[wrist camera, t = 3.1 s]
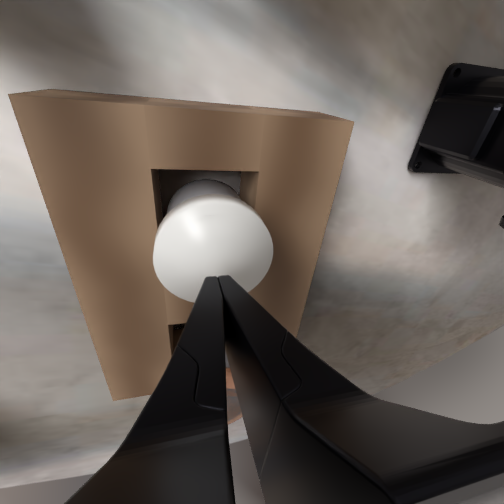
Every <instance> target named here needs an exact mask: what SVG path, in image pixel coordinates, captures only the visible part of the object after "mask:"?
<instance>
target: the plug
mask: <svg viewBox="0 0 504 504" xmlns="http://www.w3.org/2000/svg"><path fill="white" fill-rule="evenodd" d="M272 258H273V242H272V238H271V236H270V233H269V231H268V229H267V228H266V226H265V224H264V223H263V221H262V219H261V217H260V216H259V214H258V213H257V212H256V211H255V210H254V209H253V208H252V207H251V206H250V205H248V204H247V203H245V202H244V201H242V200H241V199H240V197H239V195H238V194H237V193H236V192H235V191H234V190H233V189H232V188H231V187H230V186H228V185H226V184H224V183H222V182H220V181H216V180H210V179H202V180H196V181H193V182H190V183H188V184H186V185H184V186H183V187H181V188H180V189H179V190H178V191H177V192H176V193H175V194H174V195H173V197H172V198H171V200H170V202H169V205H168V209H167V215H166V216H165V217H164V219H163V220H162V222H161V223H160V225H159V227H158V229H157V233H156V236H155V244H154V252H153V265H154V269H155V272H156V275H157V277H158V279H159V280H160V282H161V283H162V284H163V286H164V287H165V288H166V289H167V290H169V291H170V292H171V293H172V294H174V295H175V296H177V297H179V298H181V299H184V300H186V301H190V302H194V303H195V300H196V298H197V296H198V293H199V291H200V288H201V286H202V284H203V281H204V279H205V277H207V276H217V277H218V276H221V275H229V276H231V277H232V278H233V279H234V280H235V281H236V282H237V283H238V284H239V285H240V286H241V287H242V288H243V289H244V290H246V291H247V292H249V291H251V290H252V289H253V288H254V287H256V286H257V285H258V284H259V283H260V282H261V280H262V279H263V278H264V276H265V275H266V273H267V272H268V270H269V268H270V265H271V262H272Z"/></svg>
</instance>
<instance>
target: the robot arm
mask: <svg viewBox="0 0 504 504" xmlns="http://www.w3.org/2000/svg"><path fill="white" fill-rule="evenodd" d="M454 71H455V74H454ZM453 74H454V76H453ZM416 164H417V165H416ZM415 165H416V166H415ZM408 169H409V170H411V171H413V172H424V173H459V174H465V175H468V176H471V177H473V178H476V179H479V180H482V181H485V182H488V183H491V184H493V185H496V186H499V187H502V188H504V70H503V69H497V68H491V67H484V66H478V65H472V64H465V63H453V64H451V65H450V66H449V67H448V68H447V70H446V71H445V74H444V76H443V79H442V81H441V84H440V86H439V89H438V91H437V94H436V96H435V99H434V101H433V104H432V106H431V109H430V111H429V114H428V116H427V119H426V121H425V124H424V126H423V129H422V132H421V134H420V137H419V139H418V142H417V144H416V147H415V149H414V152H413V154H412V157H411V159H410V162H409V165H408ZM499 225H500V226H501V227H502V228H504V215H503V216H502V218H501V221H500V223H499ZM225 351H226V355H227V359H228V363H229V366H230V370H231V374H232V378H233V382H234V385H235V389H236V393H237V397H238V401H239V405H240V408H241V412H242V416H243V420H244V424H245V427H246V431H247V435H248V439H249V443H250V446H251V450H252V454H253V458H254V462H255V465H256V469H257V473H258V477H259V479H260V485H261V489H262V493H263V496H264V500H265V504H504V421H502V422H499V423H494V424H476V423H469V422H464V421H459V420H455V419H452V418H448V417H444V416H440V415H437V414H433V413H429V412H425V411H422V410H418V409H414V408H410V407H406V406H403V405H399V404H395V403H391V402H387V401H384V400H380V399H378V398H375V397H373V396H371V395H369V394H368V393H366V392H364V391H363V390H361V389H360V388H358V387H357V386H355V385H354V384H353V383H351V382H350V381H349V380H348V379H346V378H345V377H344V376H342V375H341V374H340V373H338V372H337V371H336V370H334V369H333V368H332V367H331V366H329V365H328V364H327V363H325V362H324V361H323V360H321V359H320V358H319V357H318V356H316V355H315V354H314V353H313V352H311V351H310V350H309V349H308V348H307V347H306V346H304V345H303V344H302V343H301V342H300V341H299V340H298V339H297V338H295V337H294V336H293V335H292V334H291V333H290V332H289V331H288V332H287V329H286V328H285V327H284V326H283V325H282V324H281V323H279V322H278V321H277V320H276V319H275V318H274V317H273V316H272V315H271V314H270V313H269V312H268V311H267V310H266V309H265V308H264V307H262V306H261V305H260V304H259V303H258V302H257V301H256V300H255V299H254V298H253V297H252V296H251V295H250V294H249V293H248V292H247V291H246V290H244V289H243V288H242V287H241V286H240V285H239V284H238V283H237V282H236V281H235V280H234V279H233V278H232V277H231V276H229V275H221V276H218V277H217V276H207V277H205V279H204V281H203V284H202V286H201V288H200V291H199V293H198V296H197V298H196V300H195V303H194V305H193V307H192V310H191V312H190V314H189V317H188V319H187V322H186V324H185V326H184V329H183V331H182V333H181V336H180V338H179V341H178V343H177V346H176V347H175V350H174V352H173V354H172V357H171V359H170V361H169V363H168V365H167V367H166V370H165V372H164V373H163V375H162V377H161V379H160V381H159V383H158V384H157V386H156V388H155V390H154V391H153V393H152V395H151V396H150V398H149V400H148V402H147V403H146V405H145V407H144V408H143V410H142V412H141V413H140V415H139V417H138V418H137V420H136V422H135V423H134V425H133V427H132V429H131V430H130V432H129V433H128V435H127V437H126V438H125V440H124V441H123V443H122V444H121V446H120V447H119V448H118V450H117V451H116V452H115V454H114V455H113V456H112V457H111V458H110V459H109V461H108V462H107V463H106V464H105V465H104V466H103V467H101V468H100V469H99V470H98V471H97V472H96V473H95V474H94V475H93V476H92V477H91V478H90V479H89V480H88V481H87V482H86V483H85V484H84V485H83V486H82V487H81V488H80V489H79V490H78V491H77V492H76V493H75V494H74V495H73V496H71V497H70V499H68V500H67V502H65V503H64V504H235V495H234V486H233V476H232V467H231V458H230V448H229V438H228V421H227V391H226V360H225Z"/></svg>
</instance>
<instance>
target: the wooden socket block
mask: <svg viewBox="0 0 504 504" xmlns="http://www.w3.org/2000/svg"><path fill="white" fill-rule="evenodd" d="M8 96H9V99H10V101H11V104H12V107H13V110H14V113H15V116H16V119H17V122H18V125H19V128H20V131H21V134H22V136H23V139H24V142H25V145H26V148H27V151H28V154H29V157H30V160H31V163H32V166H33V169H34V171H35V174H36V177H37V180H38V183H39V186H40V189H41V192H42V195H43V198H44V201H45V204H46V206H47V209H48V212H49V215H50V218H51V221H52V224H53V227H54V230H55V233H56V236H57V239H58V241H59V244H60V247H61V250H62V253H63V256H64V259H65V262H66V265H67V268H68V271H69V274H70V276H71V279H72V282H73V285H74V288H75V291H76V294H77V297H78V300H79V303H80V306H81V309H82V311H83V314H84V317H85V320H86V323H87V326H88V329H89V332H90V335H91V338H92V341H93V344H94V346H95V349H96V352H97V355H98V358H99V361H100V364H101V367H102V370H103V373H104V376H105V379H106V382H107V384H108V387H109V390H110V393H111V396H112V399H113V401H115V400H121V399H127V398H133V397H139V396H145V395H151V394H152V393H153V391H154V390H155V388H156V386H157V384H158V383H159V381H160V379H161V377H162V375H163V373H164V372H165V370H166V367H167V365H168V363H169V361H170V359H171V357H172V354H173V352H174V350H175V347H176V346H177V343H178V341H179V338H180V336H181V333H182V331H183V329H177V330H173V324H181V323H186V322H187V319H188V317H189V314H190V312H191V310H192V307H193V305H194V302H190V301H186V300H184V299H181V298H179V297H177V296H175V295H174V294H172V293H171V292H170V291H169V290H167V289H166V288H165V287H164V286H163V284H162V283H161V282H160V280H159V279H158V277H157V275H156V272H155V269H154V265H153V252H154V244H155V236H156V233H157V229H158V227H159V225H160V223H161V222H162V220H163V215H162V204H161V194H160V183H159V173H158V169H179V170H218V171H241V181H240V195H239V197H240V199H241V200H242V201H244V202H245V203H247V204H248V205H250V206H251V207H252V208H253V209H254V210H255V211H256V212H257V213H258V214H259V216H260V217H261V219H262V221H263V223H264V224H265V226H266V228H267V229H268V231H269V233H270V236H271V238H272V242H273V258H272V262H271V265H270V268H269V270H268V272H267V273H266V275H265V276H264V278H263V279H262V280H261V282H260V283H259V284H258V285H257V286H256V287H254V288H253V289H252V290H251V291H249V292H248V293H249V294H250V295H251V296H252V297H253V298H254V299H255V300H256V301H257V302H258V303H259V304H260V305H261V306H262V307H264V308H265V309H266V310H267V311H268V312H269V313H270V314H271V315H272V316H273V317H274V318H275V319H276V320H277V321H278V322H279V323H281V324H282V325H283V326H284V327H285V328H286V329H287V332H288V331H289V332H290V333H291V334H292V335H293V336H294V337H295V338H296V337H297V333H298V330H299V326H300V322H301V318H302V315H303V311H304V307H305V304H306V300H307V296H308V292H309V289H310V285H311V281H312V278H313V274H314V270H315V266H316V263H317V259H318V255H319V252H320V248H321V244H322V240H323V237H324V233H325V229H326V226H327V222H328V218H329V214H330V211H331V207H332V203H333V200H334V196H335V192H336V188H337V185H338V181H339V177H340V174H341V170H342V166H343V162H344V159H345V155H346V151H347V148H348V144H349V140H350V136H351V133H352V129H353V125H354V122H353V121H350V120H346V119H342V118H339V117H335V116H331V115H327V114H324V113H320V112H312V111H300V110H288V109H277V108H265V107H254V106H242V105H230V104H219V103H207V102H196V101H184V100H172V99H161V98H149V97H137V96H126V95H114V94H103V93H91V92H79V91H68V90H56V89H47V90H39V91H31V92H23V93H15V94H8Z"/></svg>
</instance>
